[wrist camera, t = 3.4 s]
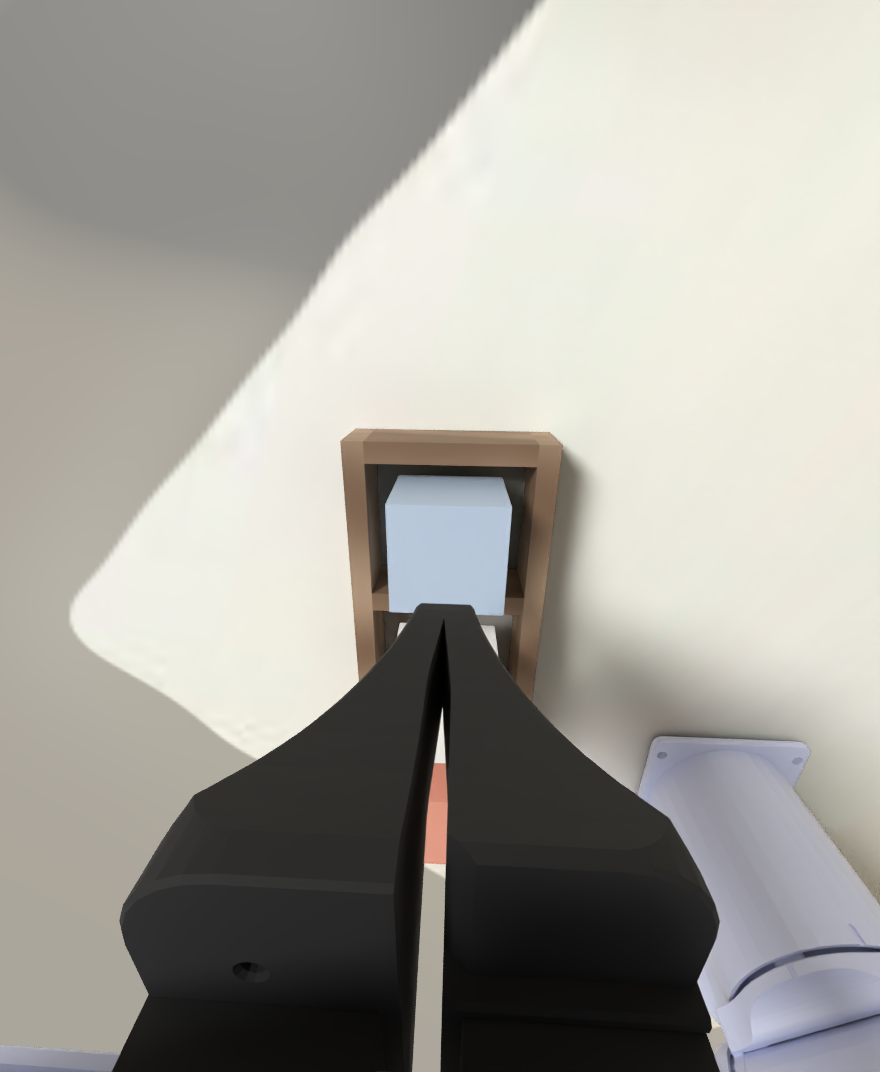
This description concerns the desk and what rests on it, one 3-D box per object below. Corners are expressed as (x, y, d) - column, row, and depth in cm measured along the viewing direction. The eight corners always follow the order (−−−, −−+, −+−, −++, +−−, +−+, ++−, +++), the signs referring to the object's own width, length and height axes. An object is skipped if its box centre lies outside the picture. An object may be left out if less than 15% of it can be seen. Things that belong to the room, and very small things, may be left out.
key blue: (496, 569, 19) (503, 615, 16) (401, 566, 19) (389, 612, 16) (502, 477, 17) (512, 507, 14) (399, 474, 17) (385, 504, 14)
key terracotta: (482, 792, 23) (486, 866, 20) (404, 789, 23) (396, 861, 20) (486, 734, 21) (491, 804, 18) (403, 731, 21) (393, 799, 18)
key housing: (512, 775, 25) (518, 817, 23) (377, 769, 26) (369, 810, 23) (549, 432, 18) (562, 445, 15) (355, 428, 18) (340, 440, 16)
